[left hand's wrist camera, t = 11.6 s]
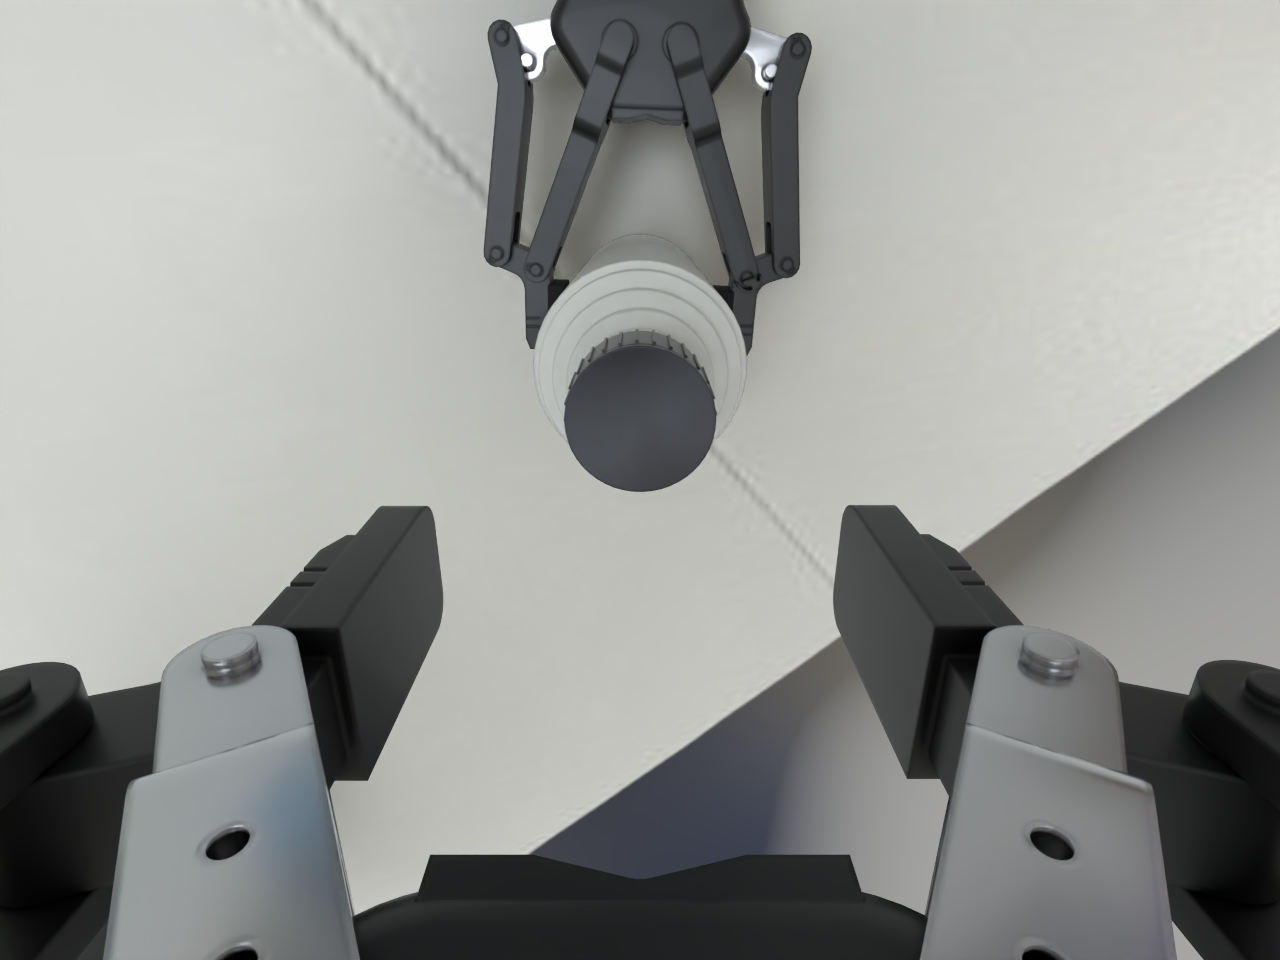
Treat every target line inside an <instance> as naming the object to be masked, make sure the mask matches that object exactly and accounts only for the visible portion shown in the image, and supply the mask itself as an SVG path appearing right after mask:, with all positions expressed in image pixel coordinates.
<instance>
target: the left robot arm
mask: <svg viewBox="0 0 1280 960" xmlns="http://www.w3.org/2000/svg"><path fill="white" fill-rule="evenodd" d="M833 605H834V615H835V620H836V624H837V627H838V630H839V632H840V634H841V636H842V638H843V641H844V643H845V645H846V647H847V649H848V651H849V654H850V656H851V658H852V660H853V662H854V664H855V667H856V669H857V671H858V673H859V675H860V677H861V680H862V682H863V684H864V686H865V688H866V690H867V693H868V695H869V697H870V699H871V701H872V704H873V706H874V708H875V710H876V712H877V714H878V716H879V719H880V721H881V723H882V725H883V727H884V730H885V732H886V734H887V736H888V738H889V740H890V743H891V745H892V747H893V749H894V751H895V753H896V756H897V758H898V760H899V762H900V764H901V766H902V769H903V771H904V773H905V775H906V777H907V779H940V780H941V782H942V784H943V785H944V787H945V789H946V791H947V793H948V795H949V800H948V804H947V809H946V814H945V819H944V823H943V828H942V833H941V838H940V843H939V847H938V852H937V857H936V862H935V867H934V872H933V877H932V882H931V886H930V891H929V896H928V901H927V906H926V911H925V915H923V914H921V913H919V912H916V911H914V910H912V909H910V908H908V907H905V906H903V905H901V904H898V903H895V902H892V901H890V900H887V899H884V898H881V897H878V896H875V895H871V894H868V893H864V892H861V889H860V886H859V882H858V880H857V876H856V873H855V870H854V867H853V864H852V861H851V857H850V855H744V856H740V857H736V858H732V859H727V860H723V861H719V862H715V863H711V864H707V865H703V866H698V867H694V868H690V869H686V870H682V871H678V872H674V873H670V874H665V875H661V876H657V877H653V878H647V879H632V878H627V877H623V876H618V875H615V874H610V873H606V872H602V871H598V870H594V869H590V868H586V867H581V866H577V865H573V864H569V863H565V862H561V861H557V860H553V859H549V858H544V857H540V856H536V855H430V857H429V860H428V864H427V867H426V870H425V873H424V876H423V879H422V882H421V886H420V889H419V892H416V893H412V894H409V895H405V896H402V897H399V898H396V899H393V900H390V901H388V902H385V903H382V904H379V905H377V906H374V907H372V908H370V909H368V910H366V911H364V912H361V913H359V914H357V915H355V911H354V906H353V901H352V896H351V891H350V886H349V882H348V877H347V872H346V867H345V862H344V857H343V852H342V847H341V843H340V838H339V833H338V828H337V823H336V818H335V813H334V809H333V804H332V800H331V795H330V788H331V786H332V784H333V782H334V781H368V779H369V777H370V775H371V773H372V770H373V768H374V766H375V764H376V762H377V760H378V758H379V755H380V753H381V751H382V749H383V747H384V745H385V743H386V740H387V738H388V736H389V734H390V732H391V730H392V728H393V726H394V723H395V721H396V719H397V717H398V715H399V713H400V711H401V708H402V706H403V704H404V702H405V700H406V698H407V696H408V693H409V691H410V689H411V687H412V685H413V683H414V681H415V679H416V676H417V674H418V672H419V670H420V668H421V666H422V664H423V661H424V659H425V657H426V655H427V653H428V651H429V649H430V646H431V644H432V642H433V640H434V638H435V636H436V634H437V631H438V629H439V626H440V623H441V618H442V612H443V588H442V579H441V571H440V563H439V554H438V546H437V538H436V530H435V522H434V517H433V513H432V511H431V509H430V508H429V507H428V506H381V507H379V508H378V509H377V510H376V512H375V513H374V514H373V515H372V516H371V518H370V519H369V520H368V521H367V522H366V523H365V525H364V526H363V527H362V528H361V529H360V531H359V532H358V533H357V534H356V535H346V536H344V537H343V538H341V539H339V540H337V541H336V542H334V543H332V544H330V545H329V546H327V547H325V548H323V549H321V550H320V551H319V552H318V553H317V554H316V555H315V556H314V557H313V559H312V560H311V561H310V562H309V563H308V564H307V565H306V566H305V567H304V572H300V573H299V574H298V575H297V576H296V577H295V578H294V579H293V581H292V582H291V585H290V587H286V588H285V589H284V590H283V592H282V593H281V594H280V595H279V596H278V597H277V598H276V599H275V600H274V601H273V603H272V604H271V605H270V606H269V607H268V608H267V609H266V610H265V611H264V612H263V613H262V615H261V616H260V617H259V618H258V619H257V620H256V621H255V622H254V623H253V624H252V626H246V627H239V628H235V629H230V630H227V631H223V632H220V633H217V634H214V635H211V636H209V637H206V638H204V639H202V640H200V641H198V642H196V643H194V644H192V645H191V646H189V647H187V648H186V649H184V650H183V651H181V652H180V653H179V654H178V655H176V656H175V657H174V658H173V659H172V660H171V661H170V662H169V663H168V665H167V666H166V668H165V669H164V671H163V674H162V679H161V682H159V683H154V684H150V685H145V686H139V687H134V688H129V689H124V690H118V691H113V692H108V693H103V694H97V695H92V696H88V695H87V692H86V689H85V686H84V684H83V681H82V678H81V675H80V673H79V671H78V670H77V669H76V668H75V667H73V666H71V665H68V664H65V663H58V662H41V663H31V664H26V665H20V666H16V667H12V668H8V669H4V670H1V671H0V960H1177V956H1176V949H1175V942H1174V935H1173V927H1172V921H1173V922H1174V923H1175V925H1176V926H1177V927H1178V929H1179V930H1180V931H1181V932H1182V933H1183V935H1184V936H1185V937H1186V938H1187V940H1188V941H1189V942H1190V943H1191V945H1192V946H1193V947H1194V948H1195V950H1196V951H1197V952H1198V953H1199V954H1200V956H1201V957H1202V958H1203V959H1204V960H1280V670H1279V669H1276V668H1273V667H1269V666H1265V665H1261V664H1257V663H1251V662H1246V661H1237V660H1219V661H1212V662H1209V663H1206V664H1204V665H1202V666H1201V667H1200V668H1199V669H1198V671H1197V674H1196V677H1195V679H1194V682H1193V685H1192V688H1191V691H1190V693H1189V695H1185V694H1180V693H1175V692H1169V691H1164V690H1159V689H1154V688H1149V687H1143V686H1138V685H1133V684H1127V683H1122V682H1119V679H1118V674H1117V671H1116V669H1115V668H1114V666H1113V665H1112V663H1111V662H1110V661H1109V660H1108V659H1107V658H1106V657H1105V656H1104V655H1102V654H1101V653H1100V652H1099V651H1097V650H1096V649H1094V648H1093V647H1091V646H1089V645H1088V644H1086V643H1084V642H1082V641H1080V640H1078V639H1076V638H1073V637H1071V636H1069V635H1066V634H1063V633H1060V632H1057V631H1053V630H1050V629H1045V628H1041V627H1034V626H1025V625H1023V624H1022V623H1021V621H1020V620H1019V619H1018V618H1017V617H1016V616H1015V615H1014V614H1013V613H1012V612H1011V610H1010V609H1009V608H1008V607H1007V606H1006V605H1005V604H1004V603H1003V601H1002V600H1001V599H1000V598H999V597H998V596H997V595H996V594H995V593H994V592H993V590H992V589H991V588H990V587H989V586H985V582H984V580H983V579H982V578H981V577H980V576H979V575H978V574H977V573H976V572H975V571H972V570H971V566H970V565H969V564H968V563H967V561H966V560H965V559H964V558H963V557H962V556H961V555H960V554H959V553H958V551H957V550H956V549H954V548H952V547H950V546H949V545H947V544H945V543H943V542H942V541H940V540H938V539H936V538H935V537H933V536H931V535H929V534H919V533H918V531H917V530H916V529H915V528H914V527H913V525H912V524H911V523H910V522H909V521H908V519H907V518H906V517H905V516H904V515H903V513H902V512H901V511H900V510H899V509H898V508H897V507H896V506H895V505H848V506H847V507H846V509H845V511H844V513H843V517H842V523H841V531H840V540H839V548H838V557H837V565H836V574H835V582H834V591H833Z"/></svg>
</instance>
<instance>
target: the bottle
mask: <svg viewBox="0 0 1280 960" xmlns="http://www.w3.org/2000/svg"><path fill="white" fill-rule="evenodd" d="M636 329H639V331H651V332H652V330H655V332H656V333H660V334H663V335H666V336H667V335H670V336H671V338H672V339H674V340H676V341H677V342H679V343H684V344H685V347H686V348H687V349H688V350H689V351H690V352H691V353H692V354H695V355H696V357H697V360H698V362H699V364H700V366H701V367H704V369H705V372H706V374H707V377H708V379H709V382H710V385H711V388H712V390H713V393H714V396H715V399H714V403H715V409H716V412H717V416H716V430H715V434H714V438H713V441H712V442H714V441H715V440H716V439H717V437H718V436H719V435H720V434H721V433H722V432H723V431H724V430H725V428H726V427H727V425H728V424H729V423H730V421H731V420H732V418H733V416H734V414H735V412H736V410H737V408H738V406H739V403H740V400H741V398H742V395H743V391H744V386H745V382H746V372H747V357H746V349H745V343H744V339H743V336H742V333H741V329H740V327H739V324H738V322H737V320H736V318H735V316H734V314H733V312H732V311H731V309H730V308H729V306H728V305H727V303H726V302H725V301H724V299H723V298H722V297H721V296H720V295H719V293H718V292H717V291H716V290H715V289H714V287H713V286H712V285H711V284H710V283H709V281H708V280H707V279H706V278H705V277H704V275H703V274H702V273H701V272H700V271H699V269H698V268H697V267H696V266H695V264H694V263H693V262H692V261H691V260H690V259H689V257H688V256H687V255H686V254H685V253H684V252H683V251H682V250H681V249H680V248H679V247H677V246H676V245H674V244H673V243H671V242H669V241H667V240H665V239H663V238H660V237H657V236H652V235H644V234H636V235H628V236H624V237H620V238H618V239H615V240H613V241H611V242H609V243H607V244H606V245H604V246H603V247H602V248H600V249H599V250H598V251H597V252H596V253H595V254H594V255H593V256H592V257H591V258H590V260H589V261H588V262H587V263H586V265H585V266H584V267H583V268H582V269H581V271H580V272H579V273H578V274H577V275H576V277H575V278H574V279H573V280H572V281H571V283H570V284H569V285H568V286H567V288H566V289H565V290H564V291H563V292H562V294H561V295H560V296H559V297H558V299H557V300H556V301H555V302H554V304H553V305H552V306H551V308H550V310H549V311H548V313H547V315H546V317H545V318H544V320H543V323H542V325H541V328H540V330H539V333H538V337H537V341H536V345H535V351H534V379H535V386H536V390H537V393H538V397H539V400H540V403H541V405H542V407H543V410H544V412H545V414H546V415H547V417H548V419H549V420H550V422H551V424H552V425H553V426H554V428H555V429H556V430H557V432H558V433H559V434H560V435H561V436H562V437H563V438H564V439H565V440H566V441H567V442H568V440H567V436H566V433H565V425H564V412H565V405H564V402H565V399H566V397H567V394H568V391H569V389H568V388H569V385H570V382H571V380H572V377H573V374H574V372H577V370H578V367H579V364H580V361H581V359H582V358H583V359H584V358H585V357H586V356H587V355H588V354H589V352H590V351H591V348H592V347H593V346H594V347H596V346H597V345H598V344H600V343H601V342H603V341H604V338H606V337H607V338H610V337H612V336H615V335H618V334H619V332H623V333H625V332H629V331H636Z"/></svg>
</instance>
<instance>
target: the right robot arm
mask: <svg viewBox="0 0 1280 960" xmlns="http://www.w3.org/2000/svg"><path fill="white" fill-rule="evenodd" d="M488 41H489V46H490V50H491V55H492V59H493V64H494V68H495V73H496V77H497V82H498V91H497V103H496V114H495V126H494V138H493V149H492V161H491V172H490V184H489V196H488V207H487V219H486V230H485V242H484V257H485V259H486V261H487V262H488V263H489V264H490V265H492V266H494V267H500V268H503V269H505V270H508V271H510V272H513V273H515V274H516V275H518V276H519V277H520V278H521V279H522V281H523V283H524V286H525V311H526V339H527V342H528V344H529V347H530V349H535V345H536V341H537V337H538V333H539V330H540V328H541V325H542V323H543V320H544V318H545V317H546V315H547V313H548V311H549V310H550V308H551V306H552V305H553V304H554V302H555V301H556V300H557V299H558V297H559V296H560V295H561V294H562V292H563V291H564V290H565V289H566V288H567V286H568V285H569V280H558V279H553V272H554V271H555V266H556V264H557V261H558V258H559V256H560V253H561V250H562V248H563V245H564V242H565V240H566V237H567V234H568V232H569V229H570V226H571V224H572V221H573V218H574V216H575V213H576V210H577V208H578V205H579V202H580V200H581V197H582V194H583V192H584V189H585V186H586V184H587V181H588V178H589V176H590V173H591V170H592V168H593V165H594V162H595V160H596V157H597V154H598V152H599V149H600V146H601V144H602V142H603V140H604V138H605V135H606V133H607V130H608V127H609V125H610V122H611V120H612V121H613V123H633V122H637V121H641V120H645V119H649V120H652V121H655V122H657V123H660V124H663V125H681V124H682V123H683V126H684V129H685V132H686V136H687V139H688V142H689V145H690V147H691V150H692V153H693V156H694V160H695V163H696V167H697V170H698V174H699V177H700V180H701V184H702V187H703V191H704V194H705V197H706V201H707V204H708V208H709V211H710V214H711V218H712V221H713V225H714V228H715V231H716V235H717V238H718V242H719V245H720V249H721V252H722V255H723V259H724V262H725V266H726V269H727V272H728V276H729V286H715V285H713V287H714V289H715V290H716V291H717V292H718V293H719V295H720V296H721V297H722V298H723V299H724V301H725V302H726V303H727V305H728V306H729V308H730V309H731V311H732V312H733V314H734V316H735V318H736V320H737V322H738V324H739V327H740V329H741V333H742V336H743V339H744V343H745V349H746V357H747V355H748V353H749V351H750V349H751V347H752V338H753V326H754V317H755V306H756V297H757V294H758V291H759V290H760V288H761V287H762V286H764V285H765V284H767V283H769V282H772V281H775V280H778V279H781V278H789V277H792V276H793V275H795V274H796V273H797V271H798V269H799V266H800V232H799V152H798V95H799V92H800V88H801V85H802V82H803V78H804V75H805V72H806V68H807V65H808V62H809V58H810V55H811V49H812V46H811V41H810V40H809V38H808V37H807V36H806V35H804V34H803V33H795V34H792V35H791V36H789V37H788V38H786V37H782V36H779V35H776V34H773V33H769V32H766V31H763V30H760V29H756V28H753V27H751V24H750V19H749V16H748V14H747V11H746V9H745V5H744V2H743V0H557V2H556V4H555V6H554V8H553V10H552V14H551V18H548V19H543V20H538V21H534V22H529V23H524V24H520V25H515V26H512V25H511V24H510V23H509V22H507V21H505V20H497V21H495V22H493V23H492V24H491V26H490V27H489V30H488ZM555 49H559V50H560V52H561V54H562V55H563V57H564V58H565V60H566V62H567V63H568V65H569V67H570V68H571V70H572V71H573V73H574V75H575V76H576V78H577V80H578V81H579V83H580V84H581V86H582V88H583V89H584V94H583V97H582V100H581V103H580V105H579V108H578V111H577V114H576V117H575V120H574V124H573V128H572V132H571V135H570V137H569V140H568V143H567V146H566V148H565V151H564V154H563V157H562V160H561V162H560V165H559V168H558V171H557V174H556V176H555V179H554V182H553V185H552V188H551V190H550V193H549V196H548V199H547V201H546V204H545V207H544V210H543V213H542V215H541V218H540V221H539V224H538V227H537V229H536V232H535V235H534V238H533V240H532V243H531V246H530V248H529V247H527V246H524V245H522V244H519V238H520V229H521V219H522V209H523V200H524V190H525V181H526V171H527V161H528V152H529V142H530V132H531V123H532V113H533V84H532V83H533V82H536V81H539V80H540V79H541V78H542V77H543V76H544V73H545V69H546V59H547V56H548V55H549V53H550V52H552V51H553V50H555ZM740 56H741V57H743V58H745V59H747V60H748V61H749V63H750V65H751V68H752V83H753V85H754V87H755V88H756V89H757V90H759V91H761V92H764V93H763V99H762V107H761V132H762V165H763V199H764V232H765V253H763V254H760V255H757V256H755V255H754V252H753V248H752V244H751V241H750V237H749V233H748V230H747V226H746V223H745V219H744V215H743V212H742V208H741V205H740V201H739V197H738V194H737V190H736V187H735V183H734V179H733V176H732V172H731V168H730V165H729V161H728V158H727V154H726V150H725V147H724V143H723V140H722V135H721V128H720V124H719V120H718V116H717V112H716V109H715V105H714V101H713V98H712V95H713V94H714V92H715V91H716V90H717V88H718V87H719V85H720V84H721V83H722V81H723V80H724V79H725V77H726V76H727V74H728V73H729V72H730V70H731V69H732V68H733V66H734V65H735V63H736V62H737V61H738V59H739V58H740Z"/></svg>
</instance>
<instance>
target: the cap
mask: <svg viewBox="0 0 1280 960" xmlns="http://www.w3.org/2000/svg"><path fill="white" fill-rule="evenodd" d="M568 389H569V391H568V394H567V397H566V399H565V402H564V405H565V412H564V425H565V433H566V436H567V440H568V443H569V445H570V448H571V450H572V452H573V454H574V455H575V457H576V459H577V460H578V461H579V463H580V464H581V465H582V466H583V467H584V468H585V469H586V470H587V471H588V472H589V473H590V474H591V475H592V476H594V477H595V478H596V479H598V480H600V481H601V482H603V483H605V484H607V485H610V486H612V487H615V488H618V489H621V490H627V491H634V492H646V491H654V490H659V489H663V488H666V487H669V486H671V485H673V484H675V483H677V482H679V481H681V480H682V479H684V478H685V477H687V476H688V475H689V474H690V473H692V472H693V471H694V470H695V469H696V468H697V467H698V466H699V464H700V463H701V462H702V461H703V459H704V458H705V456H706V455H707V453H708V451H709V449H710V447H711V444H712V441H713V438H714V434H715V430H716V416H717V412H716V409H715V403H714V399H715V396H714V393H713V390H712V388H711V385H710V382H709V379H708V377H707V374H706V372H705V369H704V367H701V366H700V364H699V362H698V360H697V357H696V355H695V354H692V353H691V352H690V351H689V350H688V349H687V348H686V347H685V344H684V343H679V342H677V341H676V340H674V339H672V338H671V336H670V335H667V336H666V335H663V334H660V333H656V332H655V330H652V332H651V331H639V329H636V331H629V332H625V333H623V332H619V334H618V335H615V336H612V337H610V338H607V337H606V338H604V341H603V342H601V343H600V344H598V345H597V346H596V347H594V346H593V347H592V348H591V351H590V352H589V354H588V355H587V356H586V357H585V358H584V359H583V358H582V359H581V361H580V364H579V367H578V370H577V372H574V374H573V377H572V380H571V382H570V385H569V388H568Z"/></svg>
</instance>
